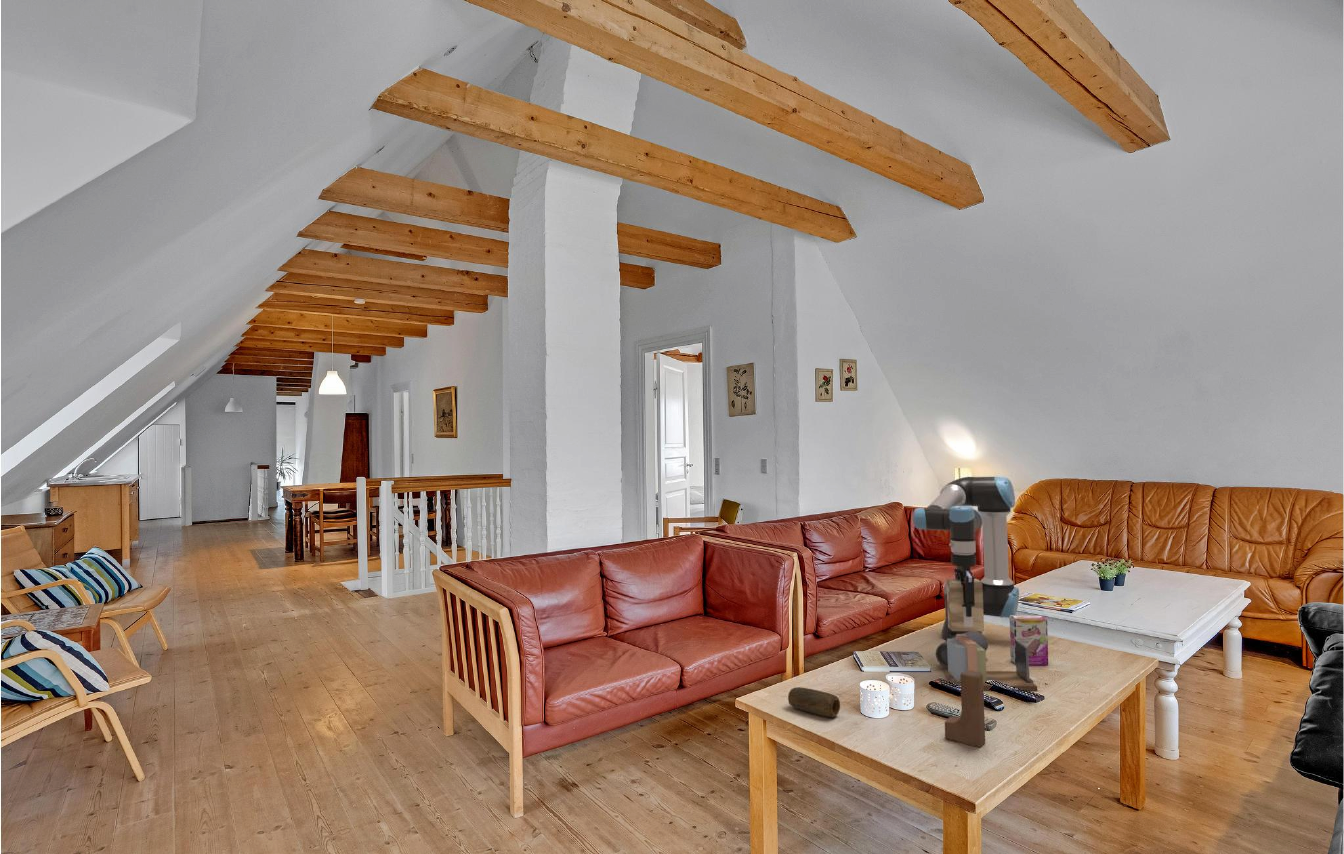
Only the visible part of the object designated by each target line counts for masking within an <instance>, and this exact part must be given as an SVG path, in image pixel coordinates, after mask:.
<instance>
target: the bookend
mask: <svg viewBox="0 0 1344 854" xmlns="http://www.w3.org/2000/svg"><path fill="white" fill-rule="evenodd" d="M1015 649H1016V665H1015V667H1016V669H1015V671H1016V674H1017V675H1018V676H1019V677H1020V678H1022V679H1023V680H1024V681H1025V682H1027V683H1034V680H1033V679H1032V678H1031V677H1030V665H1029V655H1028V647H1026V646H1025V645H1023V644H1022V643H1020V642H1019V641H1015ZM1034 684H1035V683H1034Z"/></svg>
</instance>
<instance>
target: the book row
mask: <svg viewBox="0 0 1344 854" xmlns="http://www.w3.org/2000/svg"><path fill="white" fill-rule="evenodd" d="M946 641H947V654H948V668H947V671H948V672H949V673H950V674H951V675H952V676H953V677H954V678H955V679H956V681H957V682H961V678H960V675H961V673H962V672H964V671H965V670H970V671H975V672H981V673H982V674H983V682H986V681H987V678H986V671H987V655H986V654H987V653H986V652H987V651H985V650H984V649H983V648H982V647H981V646H979V645H978V644H977V643H976V642H974V641H972V640H971V639H970V638H969V637H967V636H966V635H965V634H956V639H947V640H946Z"/></svg>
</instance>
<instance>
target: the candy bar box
mask: <svg viewBox="0 0 1344 854" xmlns="http://www.w3.org/2000/svg"><path fill="white" fill-rule="evenodd" d="M1048 639H1049V637H1048V619H1047V618H1046V617H1044V616H1042V615H1019V614H1018V615H1016V614H1015V615H1010V618H1009V642H1010V643H1009V646H1010V647H1009V651H1010V662H1011V663H1012V664H1014V665H1015V666H1016V649H1015V641H1019V642H1020V643H1022V644H1023V645H1025V646H1026V647H1028V655H1029V666H1049V642H1048Z"/></svg>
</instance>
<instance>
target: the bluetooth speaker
mask: <svg viewBox="0 0 1344 854" xmlns="http://www.w3.org/2000/svg"><path fill="white" fill-rule="evenodd" d="M963 634H965V635H966V636H967V637H969V638H970V639H971V640H972V641H974V642H976V643H977V644H978V645H979V646H981V647H982V648H983V649H984V650H985V652H987V650H988V647H989V645H988V640H987V637H985V635H984V634H983V633H980V632H977V631H970V632H966V633H963ZM951 639H956V636H955V637H953V638H951ZM935 657H936V660H937V662H938V663H939V664H940V665H941V666H942V667H944V668H947V669H948V654H947V640H945V641H944V642H942V643H941V644H939V645H938V646H937V647H936V649H935Z"/></svg>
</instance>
